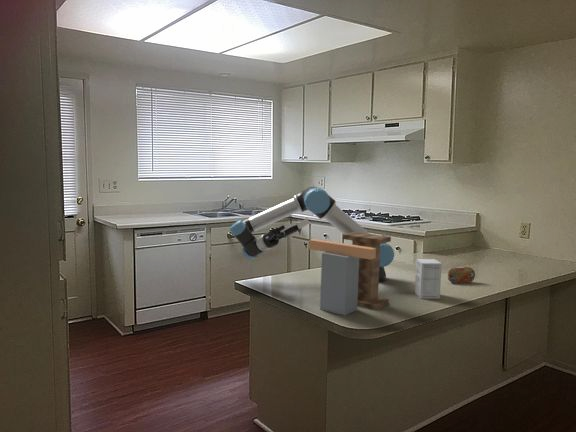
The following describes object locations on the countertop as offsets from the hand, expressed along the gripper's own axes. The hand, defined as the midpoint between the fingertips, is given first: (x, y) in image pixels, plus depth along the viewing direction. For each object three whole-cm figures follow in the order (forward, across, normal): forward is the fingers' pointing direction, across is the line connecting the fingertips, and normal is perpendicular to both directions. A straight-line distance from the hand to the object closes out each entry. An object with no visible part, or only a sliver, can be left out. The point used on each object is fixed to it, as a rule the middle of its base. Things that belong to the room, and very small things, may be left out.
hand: (299, 222), depth 217 cm
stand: (+6, -12, -44) cm, 46 cm away
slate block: (+4, +4, -42) cm, 42 cm away
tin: (+24, -77, -55) cm, 98 cm away
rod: (+16, +4, -21) cm, 27 cm away
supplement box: (+21, -41, -53) cm, 70 cm away
